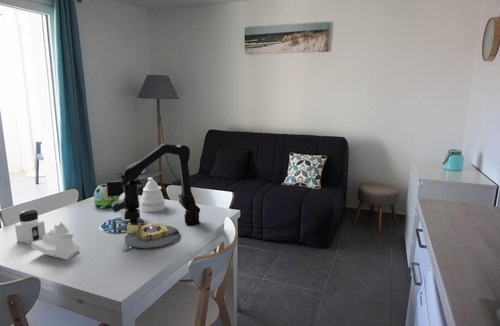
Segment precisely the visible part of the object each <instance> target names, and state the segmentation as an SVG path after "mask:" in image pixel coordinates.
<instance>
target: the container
mask: <svg viewBox="0 0 500 326" xmlns="http://www.w3.org/2000/svg"><path fill="white" fill-rule="evenodd" d="M18 216H19V217H18V218H19V223H17V224H15V226H14V228H15V235H16V241H17V242H18V241H19V243H22V242H24V243H23V244H27V243H29V244H28V245H32V242H35V241H39V240H42V237H43V236H44V235H45V234H46V228H45V221H44V220H39V215H38V211H37V210H35V209H27V210H24V211H21V212H20V213H18Z"/></svg>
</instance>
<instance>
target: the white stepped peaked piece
mask: <svg viewBox="0 0 500 326" xmlns="http://www.w3.org/2000/svg"><path fill="white" fill-rule="evenodd" d="M73 237H74V235H73V233H71V232H70V231H69V229H68V227H67V226H66V225H65V224H64V223H62V222H58V223H56V224H55V225H54V226H53V227H52V228H51V229H50V230H49V232H45V235H44V236H43V237H42V239H40V240H38V241H35V242H32V243H31V244H30V248H33V249H34V250H36V251H38V252H41V253H42V254H45V255H46V256H51V257H54V258H55V257H56V258H58V259H61V260H67V261H68V260H70V259H71V258H72V257H73V256H75V255H76V254H77V253H78V252H79V251H80V246H79V245H77V244H76V243H74V241H73ZM69 258H70V259H69Z"/></svg>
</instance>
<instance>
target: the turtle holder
mask: <svg viewBox="0 0 500 326" xmlns="http://www.w3.org/2000/svg"><path fill="white" fill-rule="evenodd" d="M120 197H121V196H113V197H107V194H106V183H105V184H100V185H98V186H97V187H96V188H95V190H94V193H93V203H94V206H95V207H99V206H100V207H99V209H101V210H104V209H105V208H106V207H107V206H112V204H113V203H114V202H117V201H119V200H120Z"/></svg>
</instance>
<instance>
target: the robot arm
mask: <svg viewBox="0 0 500 326" xmlns="http://www.w3.org/2000/svg"><path fill="white" fill-rule="evenodd" d="M190 153H191V150H190V147H188V146H187V145H186V144H183V143H178V144H176V145H175V144H168V143H164V142H163V143H161V144H159V145H158V146H157V147H156V148H155V149H153V150H152V151H150V152H149V153H147V154H146V155H145V156H143V157H142V158H141V159H139V160H137V161H135V162H133V163H130V164H129V165H127V166H125V167H123V169H122V174H121V176H120V177H119V178H118V180H113V181H111V180H108V181H106V183H105V184H106V194H107V197H113V196H120V197H121V196H122V195H123V194H124V195H123V197H124V198H122V199H119V201H117V202H114V203H113V204H112V205H111V208H112V211H113V212H114V213H118V212H120V210H122V209H124V208H125V210H126V212H125V215H124V216H125V219H130V221H129V223H137V221H138V219H140V218H141V213H140V209H139V208H140V201H139V186H138V185H143V182H142V181H141V180H140V179H139V176H141V174H142V173H143V172H144V170H145V169H146V168H148V167H149V166H150V165H152V164H153V163H154V162H156V161H158V159H160V158H161V157H163V156H164V155H165V154H171V155H175V157H176V160H177V163H178V167H179V169H178V170H179V176H180V183H181V184H180V186H181V194H178V195H177V196H178V198H179V201H178V203H179V204H180V206H181V207H182V208H184V210H185V213H184V214H183V215H184V223H185V224H186V226H187V227H188V226H195V225H200V224H201V223H200V213H201V212H200V211H201V208H200V207H199V206H198V205H197V203H196V200H195V197H194V195H193V192H192V187H191V179H190V177H191V176H190V170H189V169H190V168H189V161H190V158H191V157H190V156H191V155H190ZM127 209H128V210H127Z"/></svg>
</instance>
